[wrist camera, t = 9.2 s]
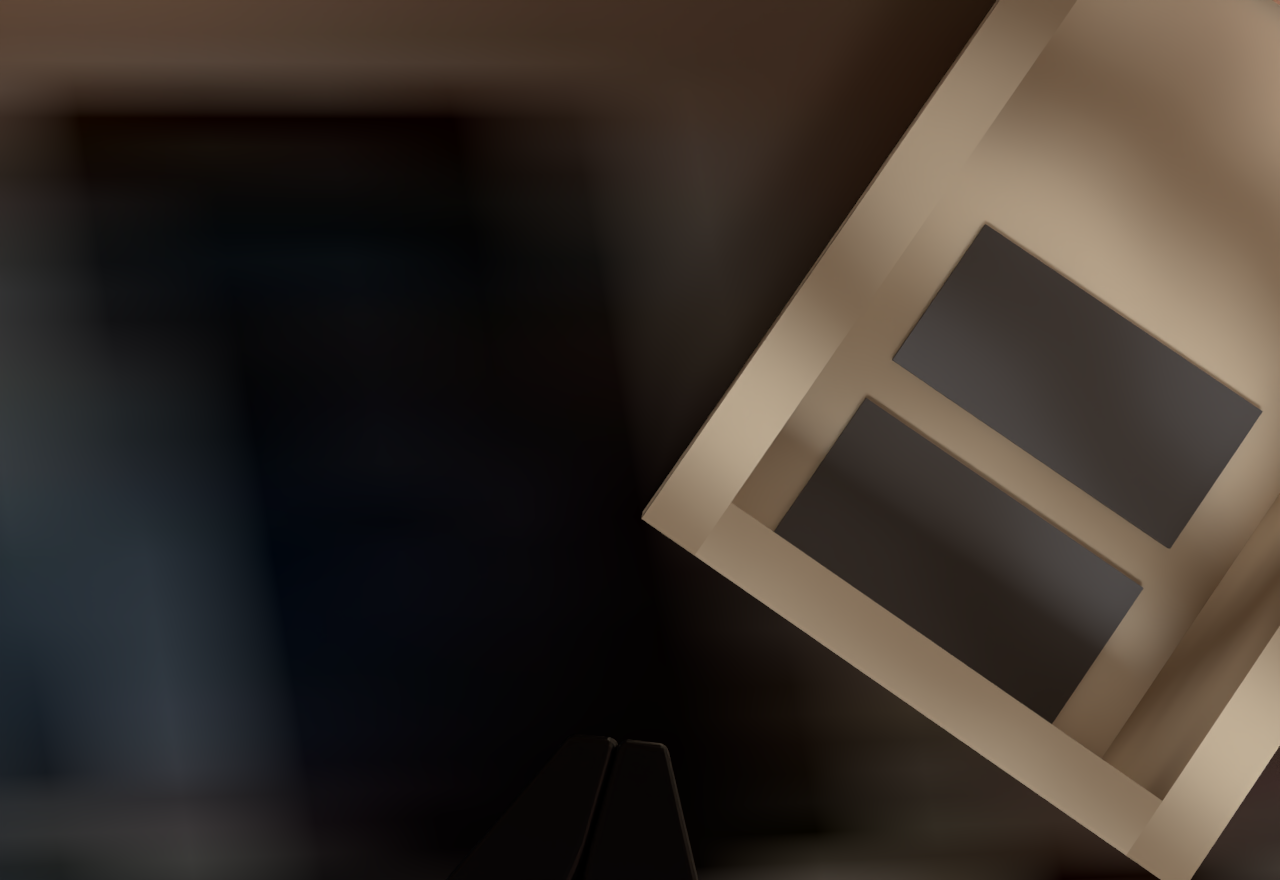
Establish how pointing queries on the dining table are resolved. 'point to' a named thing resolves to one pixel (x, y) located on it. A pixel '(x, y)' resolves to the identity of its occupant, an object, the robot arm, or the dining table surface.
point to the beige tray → (1042, 418)
